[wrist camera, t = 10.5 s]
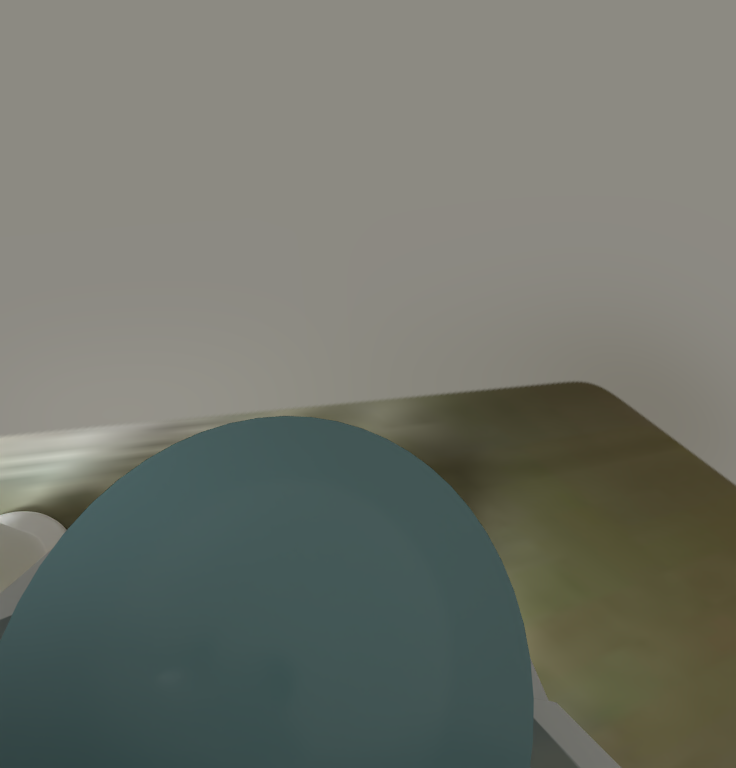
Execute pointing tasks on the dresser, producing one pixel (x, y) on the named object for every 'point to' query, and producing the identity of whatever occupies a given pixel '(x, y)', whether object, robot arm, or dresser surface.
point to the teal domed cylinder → (270, 616)
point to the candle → (25, 542)
